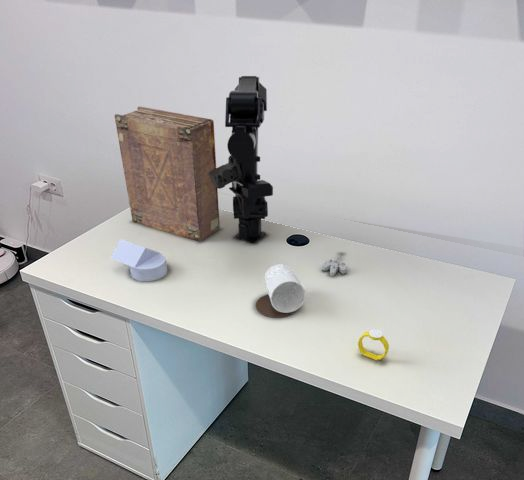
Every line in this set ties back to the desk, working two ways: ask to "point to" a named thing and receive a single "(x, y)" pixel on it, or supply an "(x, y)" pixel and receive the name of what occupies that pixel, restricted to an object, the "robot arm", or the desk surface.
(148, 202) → the book
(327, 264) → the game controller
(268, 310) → the coaster
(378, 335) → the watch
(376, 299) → the desk surface
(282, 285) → the white cup
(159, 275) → the wedge on round base
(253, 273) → the desk surface
